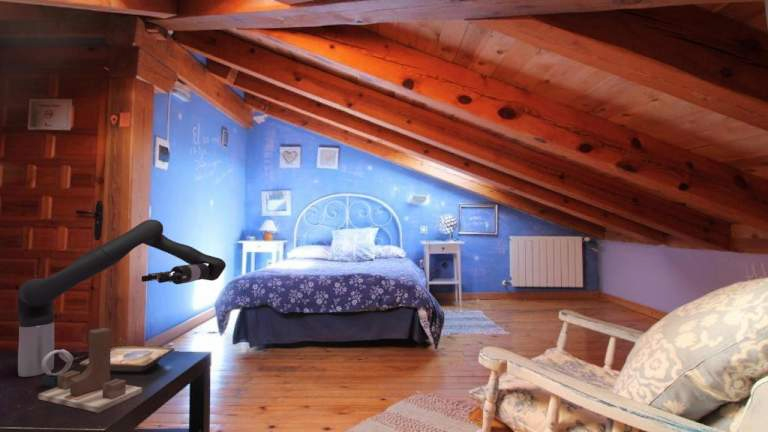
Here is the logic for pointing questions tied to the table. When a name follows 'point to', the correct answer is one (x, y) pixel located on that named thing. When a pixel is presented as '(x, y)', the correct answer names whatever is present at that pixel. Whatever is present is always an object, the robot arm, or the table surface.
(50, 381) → the watch
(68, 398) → the striped wooden base
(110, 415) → the table surface
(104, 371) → the wooden block
